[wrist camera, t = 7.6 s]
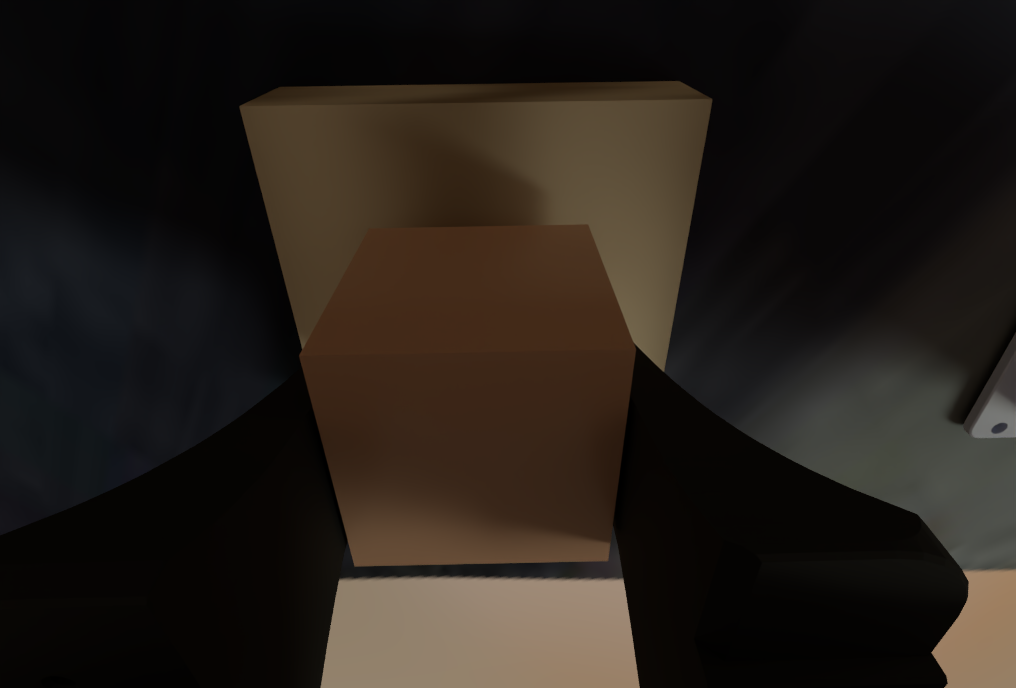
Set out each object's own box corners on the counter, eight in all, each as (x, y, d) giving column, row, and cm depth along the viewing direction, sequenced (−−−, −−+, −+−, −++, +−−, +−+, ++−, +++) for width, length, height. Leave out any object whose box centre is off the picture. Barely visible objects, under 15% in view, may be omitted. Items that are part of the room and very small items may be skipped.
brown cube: (588, 224, 12) (636, 348, 8) (576, 397, 15) (607, 560, 10) (369, 228, 12) (299, 355, 8) (396, 400, 15) (354, 566, 10)
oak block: (674, 78, 14) (712, 99, 12) (631, 386, 20) (650, 446, 17) (285, 84, 14) (239, 106, 12) (350, 391, 20) (329, 451, 17)
